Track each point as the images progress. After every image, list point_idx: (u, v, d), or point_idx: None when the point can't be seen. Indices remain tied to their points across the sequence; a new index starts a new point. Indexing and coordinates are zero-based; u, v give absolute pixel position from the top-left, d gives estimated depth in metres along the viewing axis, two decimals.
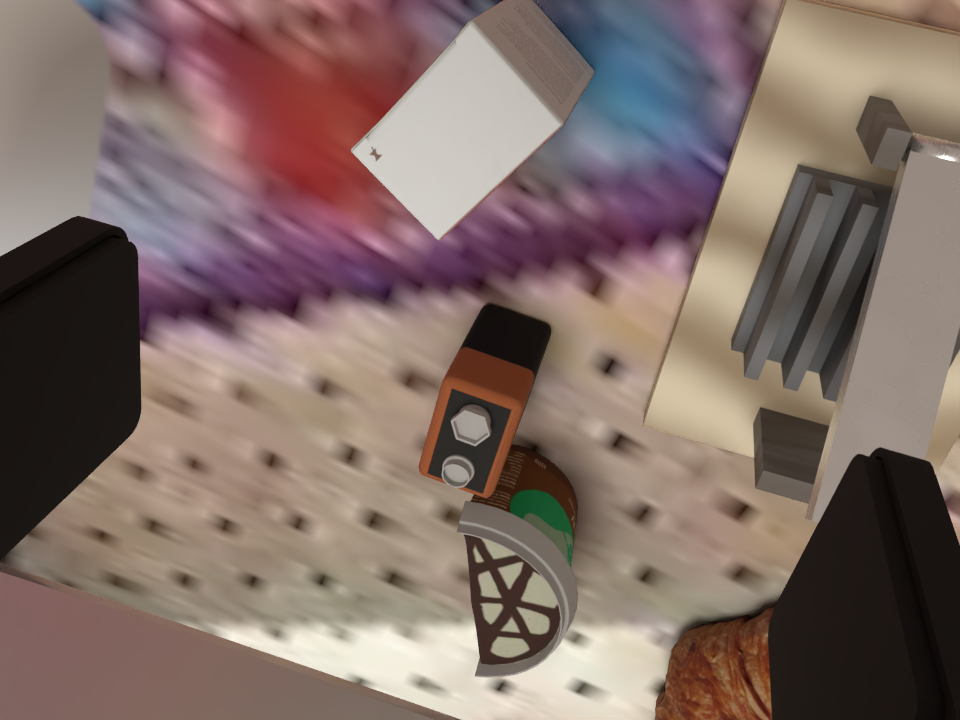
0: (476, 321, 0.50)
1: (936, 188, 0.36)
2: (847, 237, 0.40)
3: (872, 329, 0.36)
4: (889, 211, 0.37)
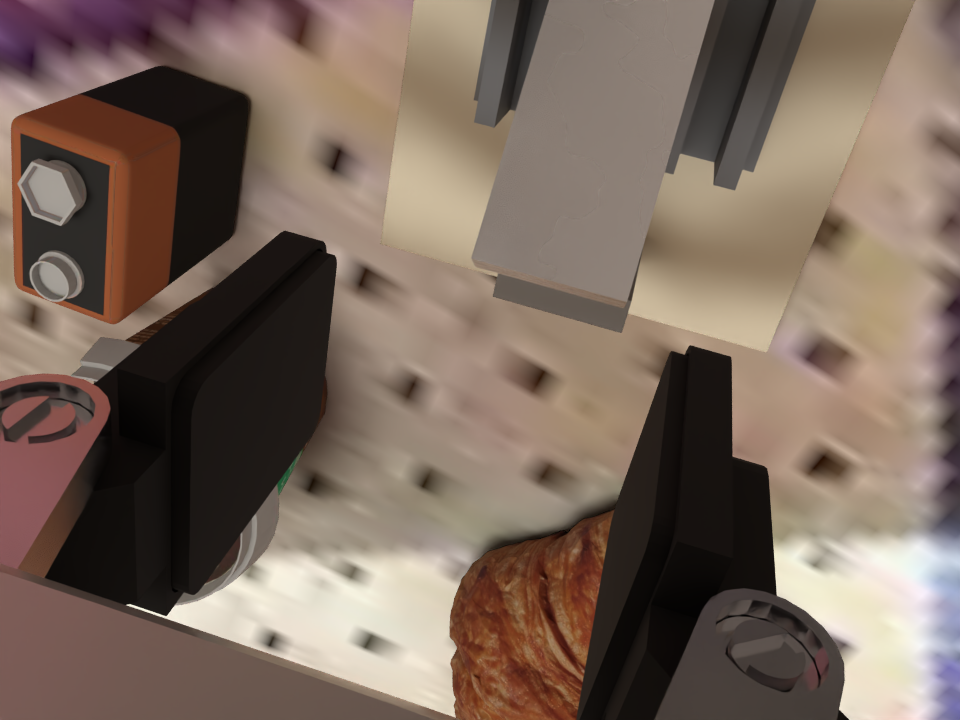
0: (125, 78, 0.34)
1: None
2: None
3: None
4: None
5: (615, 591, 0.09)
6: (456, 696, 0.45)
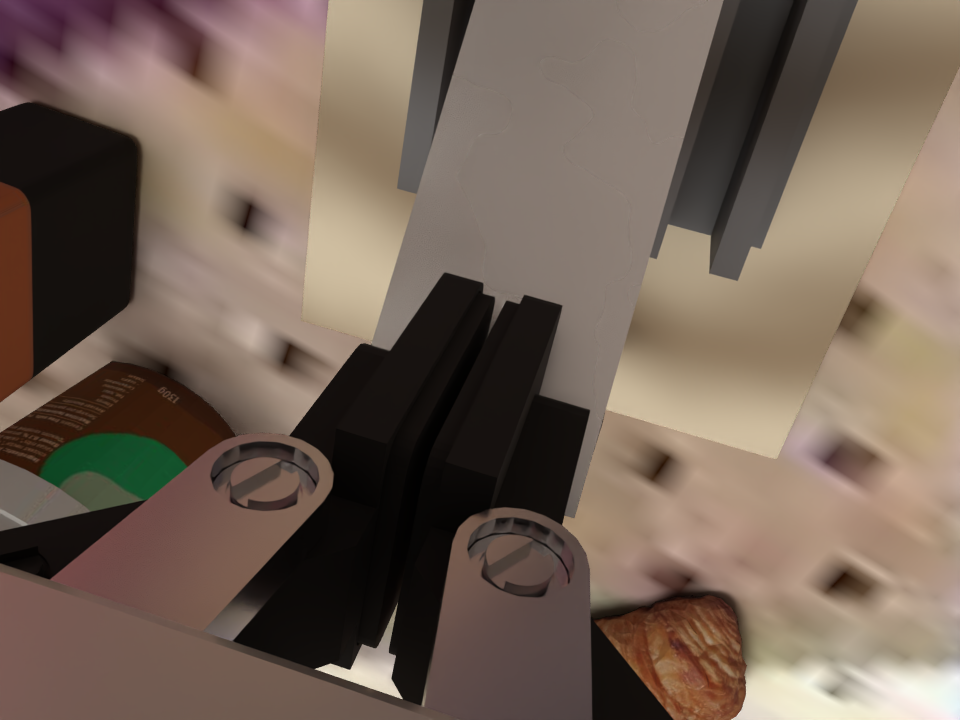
0: None
1: None
2: None
3: None
4: None
5: None
6: None
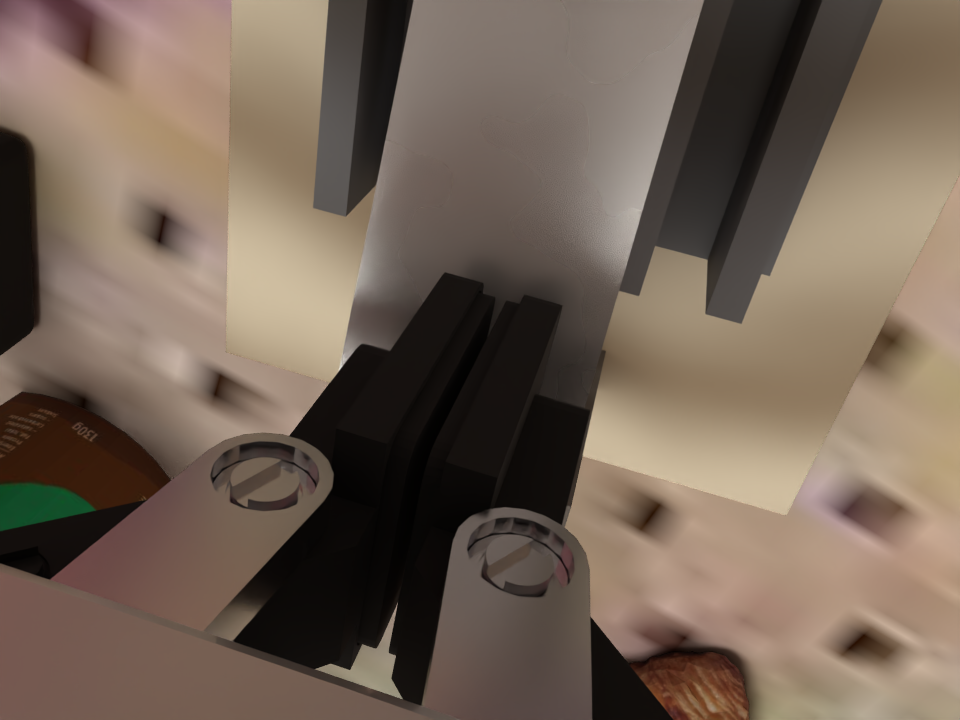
0: None
1: None
2: None
3: None
4: None
5: None
6: None
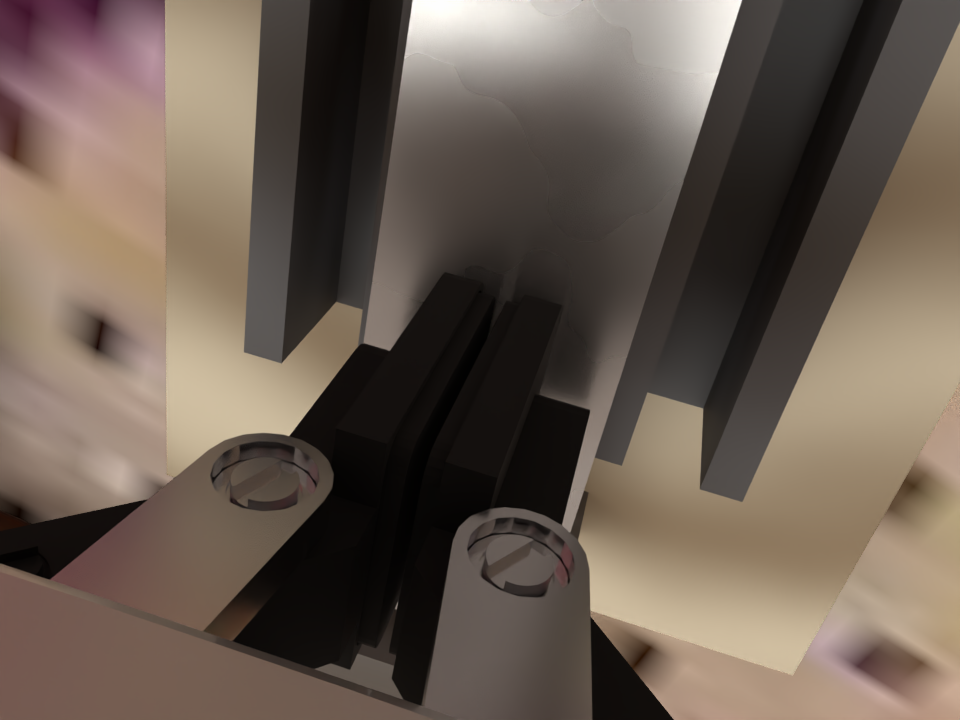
0: None
1: None
2: None
3: (422, 127, 0.11)
4: None
5: None
6: None
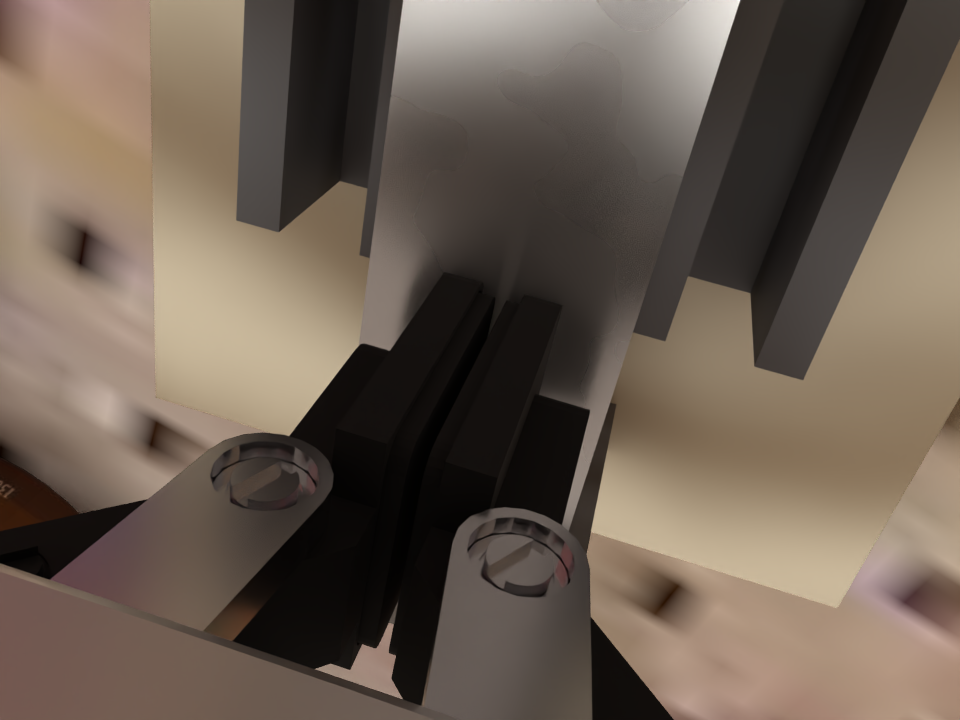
0: None
1: None
2: None
3: None
4: None
5: None
6: None
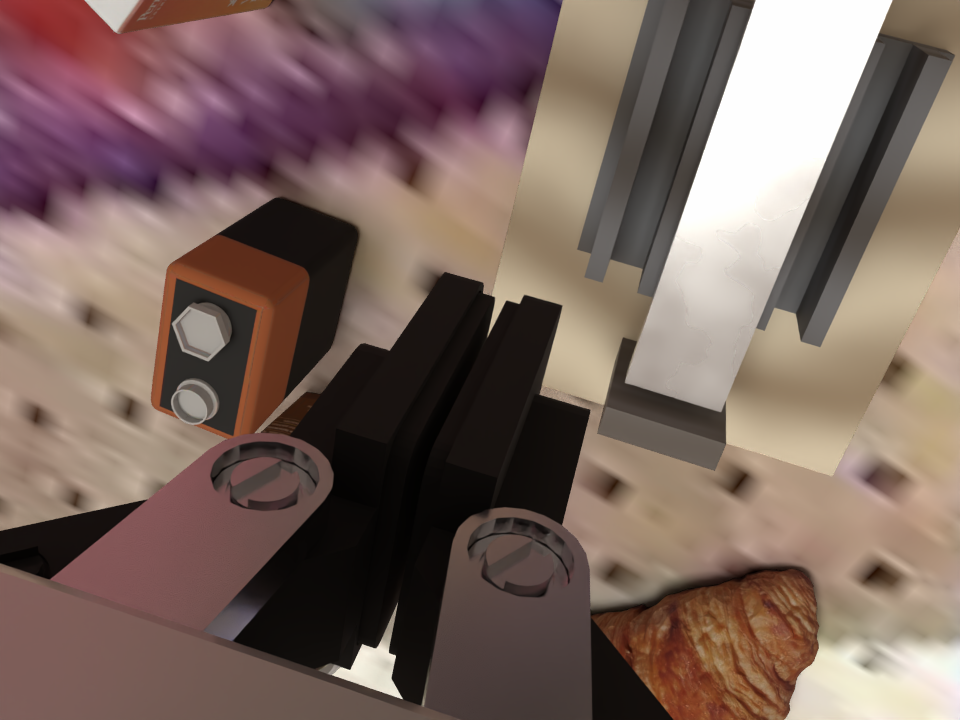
0: None
1: None
2: (714, 60, 0.28)
3: (708, 175, 0.28)
4: (753, 4, 0.26)
5: None
6: None
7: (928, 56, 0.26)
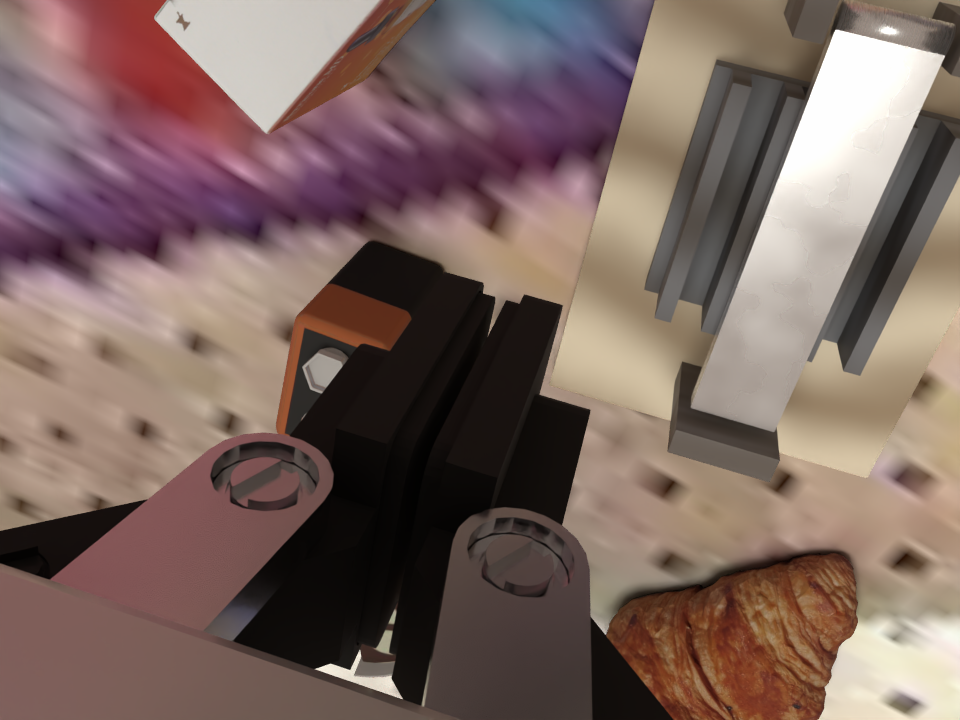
0: (352, 258, 0.43)
1: (861, 77, 0.30)
2: (770, 140, 0.33)
3: (766, 238, 0.33)
4: (806, 98, 0.31)
5: None
6: None
7: (955, 138, 0.31)
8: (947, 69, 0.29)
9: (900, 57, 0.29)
